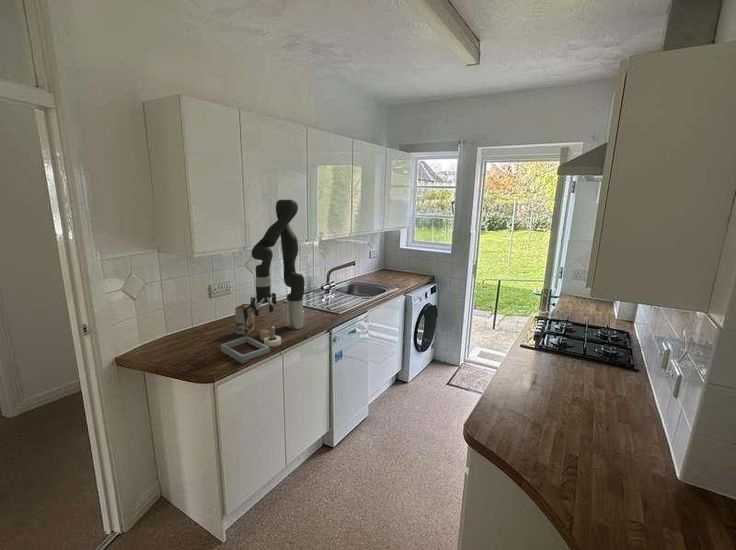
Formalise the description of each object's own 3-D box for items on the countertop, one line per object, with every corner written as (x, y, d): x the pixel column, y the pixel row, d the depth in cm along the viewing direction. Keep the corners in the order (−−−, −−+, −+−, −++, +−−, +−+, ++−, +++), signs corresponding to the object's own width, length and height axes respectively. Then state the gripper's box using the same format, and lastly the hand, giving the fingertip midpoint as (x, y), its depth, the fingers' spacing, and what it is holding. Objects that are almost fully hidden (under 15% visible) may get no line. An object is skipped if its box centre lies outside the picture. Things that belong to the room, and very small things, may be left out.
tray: (248, 342, 192) (247, 336, 191) (269, 353, 179) (269, 347, 178) (221, 351, 181) (220, 344, 180) (242, 363, 168) (241, 356, 167)
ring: (269, 336, 199) (269, 327, 198) (284, 343, 190) (284, 334, 189) (255, 340, 192) (255, 331, 191) (270, 347, 184) (270, 338, 183)
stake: (275, 339, 197) (274, 322, 195) (286, 344, 190) (285, 326, 188) (259, 344, 189) (258, 326, 187) (270, 350, 183) (269, 331, 181)
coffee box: (246, 336, 200) (245, 308, 197) (236, 335, 201) (234, 307, 198) (254, 330, 209) (253, 304, 205) (244, 329, 210) (243, 303, 207)
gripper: (270, 281, 195) (271, 309, 199) (246, 285, 185) (248, 315, 188) (278, 283, 191) (279, 312, 194) (254, 288, 180) (256, 318, 183)
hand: (264, 314), depth 191 cm, fingers open, 8 cm apart
